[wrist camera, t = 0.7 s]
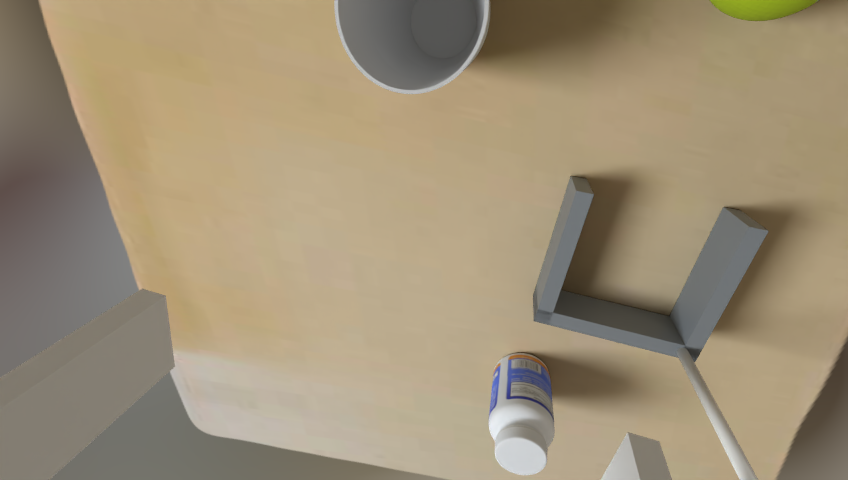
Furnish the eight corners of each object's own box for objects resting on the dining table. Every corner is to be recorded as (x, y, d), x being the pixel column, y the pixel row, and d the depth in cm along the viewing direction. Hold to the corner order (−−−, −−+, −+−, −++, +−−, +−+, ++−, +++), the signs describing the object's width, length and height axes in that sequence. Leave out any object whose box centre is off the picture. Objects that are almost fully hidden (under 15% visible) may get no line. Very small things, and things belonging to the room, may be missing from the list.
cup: (514, -32, 28) (508, -71, 19) (483, 93, 32) (466, 109, 23) (399, -54, 29) (343, -102, 20) (381, 69, 33) (327, 75, 24)
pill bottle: (517, 402, 43) (515, 491, 34) (482, 367, 42) (471, 449, 33) (562, 379, 40) (572, 468, 32) (526, 341, 40) (526, 422, 31)
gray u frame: (570, 175, 33) (613, 293, 17) (740, 210, 31) (972, 379, 15) (533, 295, 37) (538, 477, 21) (678, 331, 36) (802, 556, 20)
